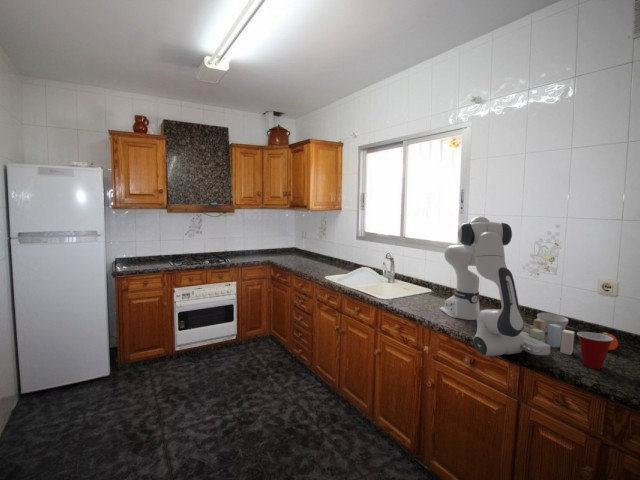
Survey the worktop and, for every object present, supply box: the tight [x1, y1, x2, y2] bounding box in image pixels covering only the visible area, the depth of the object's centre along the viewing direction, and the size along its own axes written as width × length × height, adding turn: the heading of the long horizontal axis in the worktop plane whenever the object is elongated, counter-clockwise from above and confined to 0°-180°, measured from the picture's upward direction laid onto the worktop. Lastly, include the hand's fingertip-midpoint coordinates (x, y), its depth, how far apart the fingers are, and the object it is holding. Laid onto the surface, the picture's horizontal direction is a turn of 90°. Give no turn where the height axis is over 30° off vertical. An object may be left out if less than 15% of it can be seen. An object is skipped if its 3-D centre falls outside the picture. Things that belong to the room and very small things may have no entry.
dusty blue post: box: [546, 324, 562, 348], centre depth 149 cm, size 4×4×9 cm
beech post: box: [532, 318, 546, 338], centre depth 156 cm, size 4×4×9 cm
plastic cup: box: [576, 331, 613, 370], centre depth 131 cm, size 11×11×12 cm
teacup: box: [537, 312, 569, 334], centre depth 166 cm, size 15×12×8 cm
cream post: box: [559, 328, 575, 356], centre depth 142 cm, size 4×4×9 cm
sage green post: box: [529, 328, 545, 340], centre depth 142 cm, size 4×4×9 cm
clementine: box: [598, 332, 619, 351], centre depth 147 cm, size 8×7×7 cm
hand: (537, 339), depth 143 cm, fingers open, 4 cm apart
